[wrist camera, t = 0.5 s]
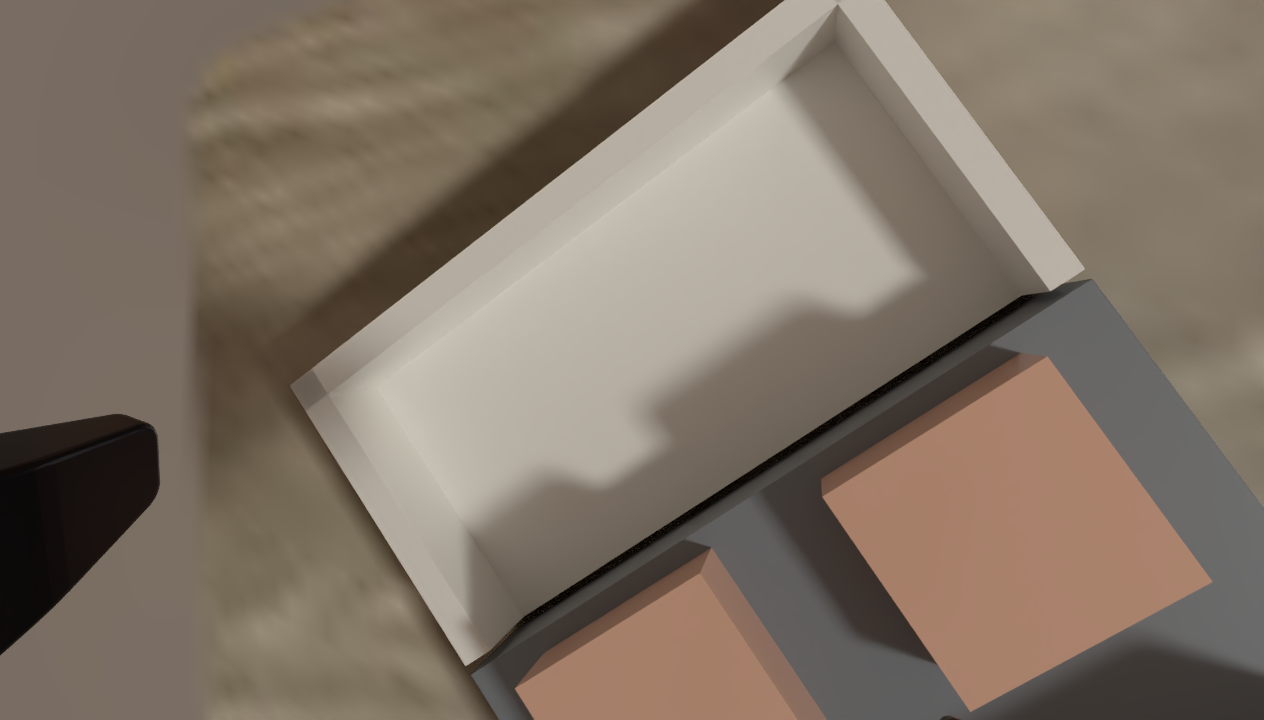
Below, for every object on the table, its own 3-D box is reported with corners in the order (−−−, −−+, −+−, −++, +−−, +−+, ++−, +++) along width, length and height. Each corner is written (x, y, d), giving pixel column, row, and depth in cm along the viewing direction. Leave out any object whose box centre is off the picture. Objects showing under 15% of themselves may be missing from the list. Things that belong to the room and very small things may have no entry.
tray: (1044, 277, 20) (1085, 269, 17) (509, 623, 23) (465, 666, 20) (842, 4, 20) (847, -50, 18) (353, 378, 24) (289, 385, 21)
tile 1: (1165, 551, 17) (1213, 582, 15) (952, 669, 18) (970, 711, 16) (1020, 352, 17) (1047, 356, 15) (820, 478, 18) (822, 496, 16)
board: (1393, 748, 19) (1501, 826, 16) (774, 1039, 22) (767, 1148, 19) (1050, 285, 20) (1093, 278, 17) (514, 630, 23) (470, 674, 20)
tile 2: (836, 733, 18) (839, 782, 16) (658, 831, 19) (641, 889, 17) (711, 547, 19) (699, 573, 17) (544, 653, 20) (514, 688, 18)
